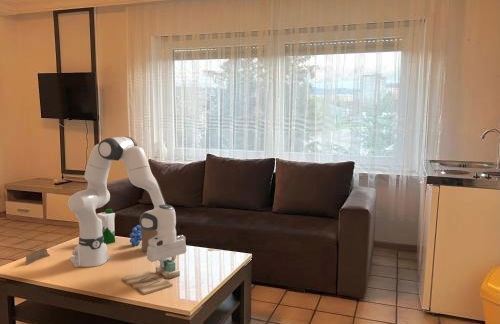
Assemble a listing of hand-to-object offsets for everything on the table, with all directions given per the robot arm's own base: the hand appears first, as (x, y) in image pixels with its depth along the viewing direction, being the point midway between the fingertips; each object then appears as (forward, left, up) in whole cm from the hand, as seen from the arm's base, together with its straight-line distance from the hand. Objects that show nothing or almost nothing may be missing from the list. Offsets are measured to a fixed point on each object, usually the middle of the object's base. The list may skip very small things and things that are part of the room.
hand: (167, 266), depth 203 cm
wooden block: (-37, +13, -4) cm, 39 cm away
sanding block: (0, 0, -4) cm, 4 cm away
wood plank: (-62, -41, -4) cm, 75 cm away
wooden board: (+3, -13, -4) cm, 14 cm away
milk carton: (-68, -1, -4) cm, 68 cm away
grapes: (-52, +10, -4) cm, 53 cm away
